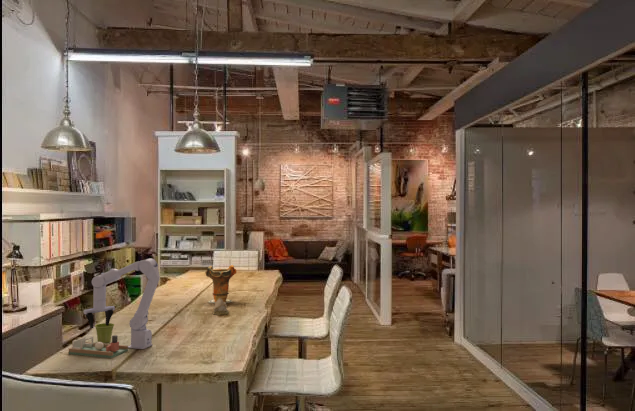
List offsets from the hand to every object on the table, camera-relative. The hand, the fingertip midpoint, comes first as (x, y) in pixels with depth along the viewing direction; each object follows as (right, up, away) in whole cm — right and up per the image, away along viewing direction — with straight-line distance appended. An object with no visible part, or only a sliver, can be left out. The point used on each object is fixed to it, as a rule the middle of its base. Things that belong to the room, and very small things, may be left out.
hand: (99, 326), depth 246 cm
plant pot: (-1, -10, +8) cm, 13 cm away
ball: (+5, -7, -10) cm, 13 cm away
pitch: (+4, -10, -10) cm, 15 cm away
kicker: (+12, -8, -12) cm, 19 cm away
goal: (-4, -9, -8) cm, 13 cm away
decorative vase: (+36, -12, +124) cm, 130 cm away
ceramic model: (+44, -12, +84) cm, 95 cm away
